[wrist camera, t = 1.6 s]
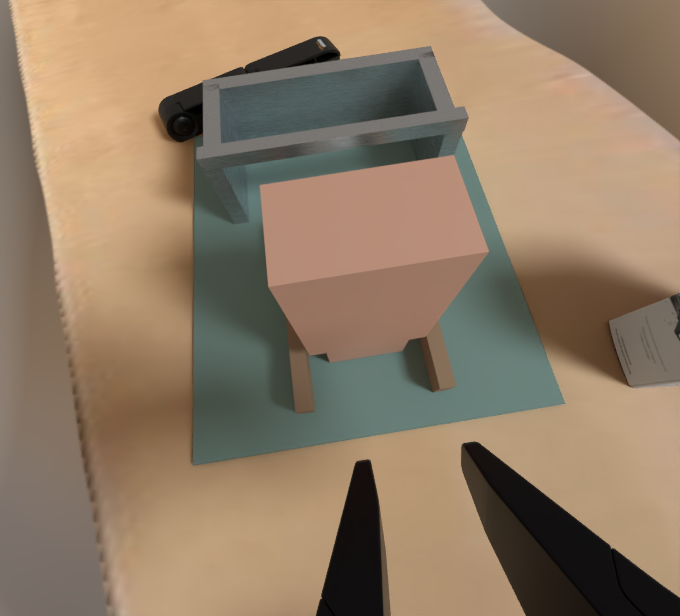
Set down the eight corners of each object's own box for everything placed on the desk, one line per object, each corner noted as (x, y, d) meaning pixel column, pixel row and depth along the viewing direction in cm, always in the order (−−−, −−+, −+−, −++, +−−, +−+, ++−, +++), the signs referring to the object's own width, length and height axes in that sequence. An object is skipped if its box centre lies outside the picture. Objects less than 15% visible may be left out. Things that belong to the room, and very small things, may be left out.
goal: (441, 193, 27) (468, 117, 21) (235, 225, 27) (196, 159, 20) (416, 117, 30) (433, 31, 24) (231, 146, 30) (196, 66, 23)
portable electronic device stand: (177, 147, 31) (159, 119, 28) (168, 130, 32) (150, 101, 29) (342, 77, 33) (341, 45, 31) (330, 63, 34) (328, 30, 32)
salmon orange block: (416, 348, 22) (489, 251, 10) (315, 365, 22) (268, 286, 10) (403, 295, 24) (454, 154, 12) (308, 310, 24) (259, 185, 12)
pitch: (562, 404, 21) (585, 401, 19) (194, 464, 21) (176, 468, 19) (446, 101, 31) (453, 77, 29) (195, 139, 31) (183, 118, 29)
